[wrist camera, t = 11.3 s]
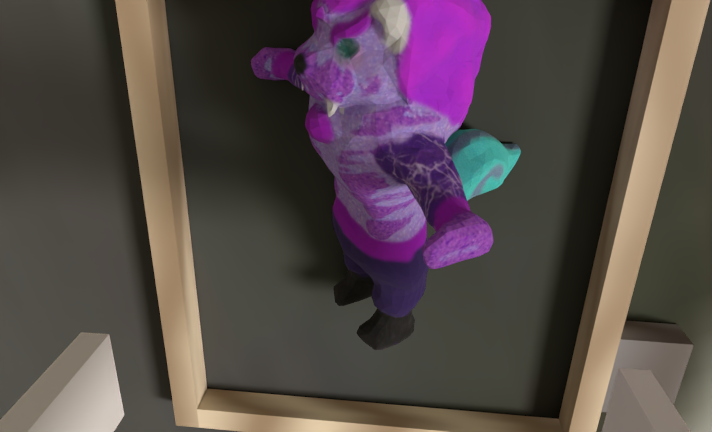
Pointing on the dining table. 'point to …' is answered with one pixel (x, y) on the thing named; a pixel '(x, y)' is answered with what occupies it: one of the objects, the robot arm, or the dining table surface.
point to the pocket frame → (410, 423)
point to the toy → (396, 142)
